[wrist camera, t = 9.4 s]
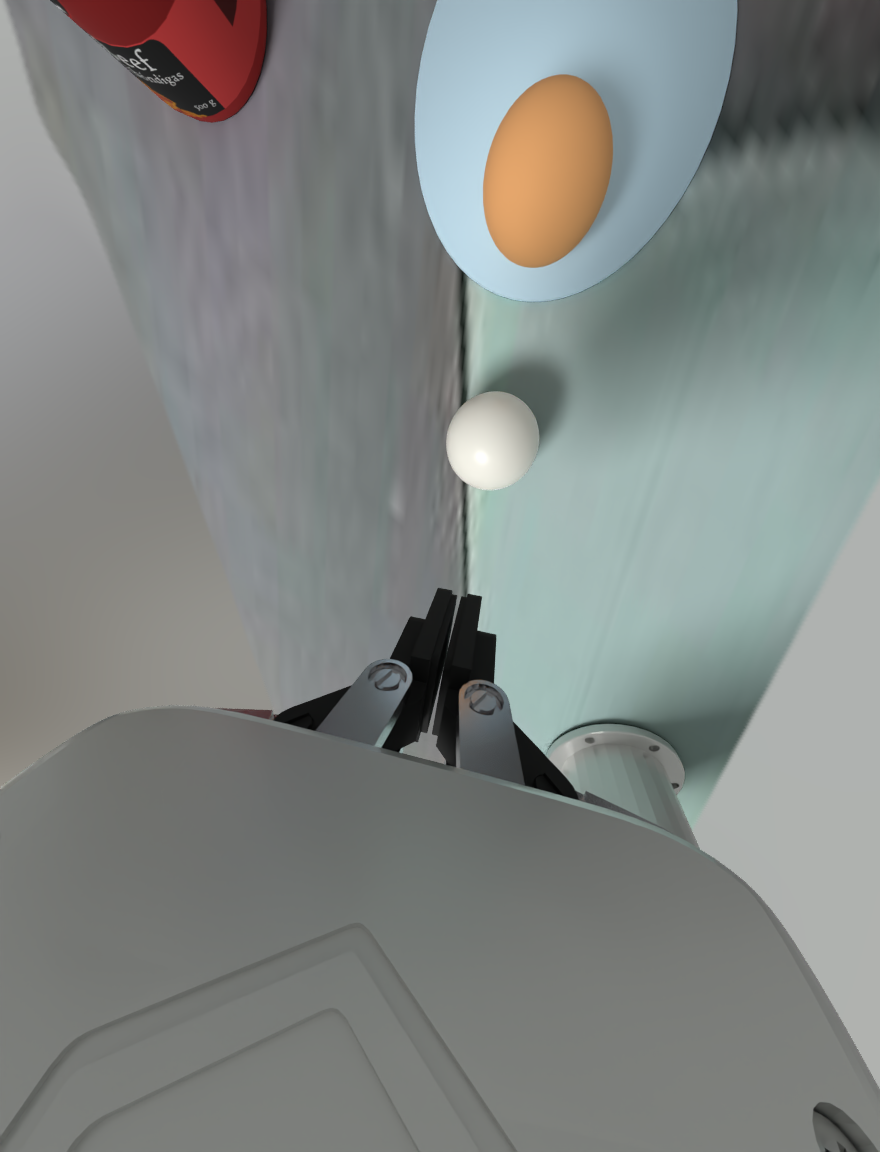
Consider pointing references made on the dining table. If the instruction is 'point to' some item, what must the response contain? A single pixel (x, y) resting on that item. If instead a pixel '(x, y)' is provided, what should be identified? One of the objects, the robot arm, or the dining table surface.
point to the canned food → (182, 48)
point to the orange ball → (547, 171)
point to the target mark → (628, 90)
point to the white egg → (492, 440)
